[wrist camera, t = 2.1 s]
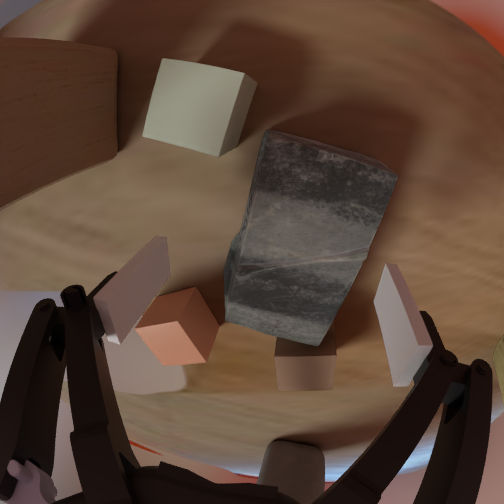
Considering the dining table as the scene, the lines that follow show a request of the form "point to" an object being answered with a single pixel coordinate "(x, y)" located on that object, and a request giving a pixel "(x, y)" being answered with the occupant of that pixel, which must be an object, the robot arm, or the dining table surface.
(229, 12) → the dining table surface
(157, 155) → the dining table surface
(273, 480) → the vase
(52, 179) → the wooden block
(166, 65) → the sage cube
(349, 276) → the stone block
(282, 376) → the walnut cube
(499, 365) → the potted cactus
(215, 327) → the terracotta cube
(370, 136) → the dining table surface
